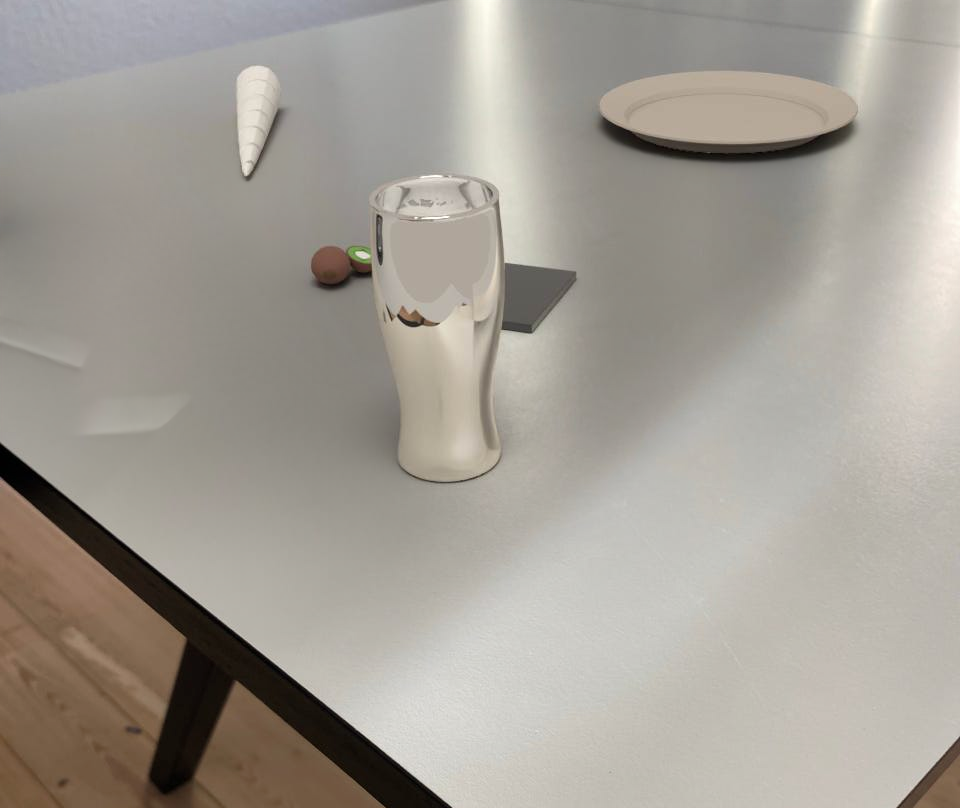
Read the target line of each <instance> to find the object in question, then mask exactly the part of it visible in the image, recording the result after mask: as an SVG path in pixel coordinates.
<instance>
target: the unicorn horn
mask: <svg viewBox="0 0 960 808" xmlns="http://www.w3.org/2000/svg"><path fill="white" fill-rule="evenodd" d="M236 77H237V78H236V82H235V109H236V130H237V144H238V154H239V161H240V165H241V171H242V173H243V176H245V177H248V176H249V175H251V173H252V171H253V170H254V167H255V166H256V165H257V162H258V161H259V158H260V155H261V153H262V150H263V148H264V146H265V145H266V141H267V139H268V136H269V133H270V130H271V128H272V126H273V122H274V120H275V117H276V115H277V112H278V109H279V107H280V103H281V100H282V99H281V98H282V88H281V82H280V80H279V79H278V77H277V75H276V74H275V73H274V72H273V70H271V69H270V68H269V67H266V66H263V65H251V66H249V67H246V68H244V69H242V71H241V72H240V73H239V74H238V75H237V76H236Z"/></svg>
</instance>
